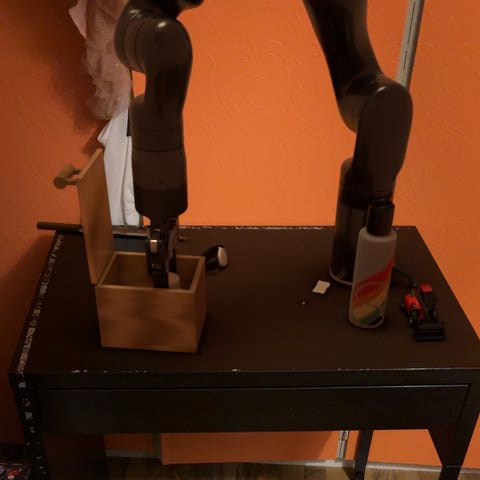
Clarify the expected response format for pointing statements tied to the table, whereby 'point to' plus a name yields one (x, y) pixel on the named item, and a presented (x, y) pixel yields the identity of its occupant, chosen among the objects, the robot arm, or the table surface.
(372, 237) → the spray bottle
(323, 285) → the card
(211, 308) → the table surface
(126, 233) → the knife
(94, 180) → the lid
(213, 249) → the watch
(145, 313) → the brown open rectangular box
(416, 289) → the loader
